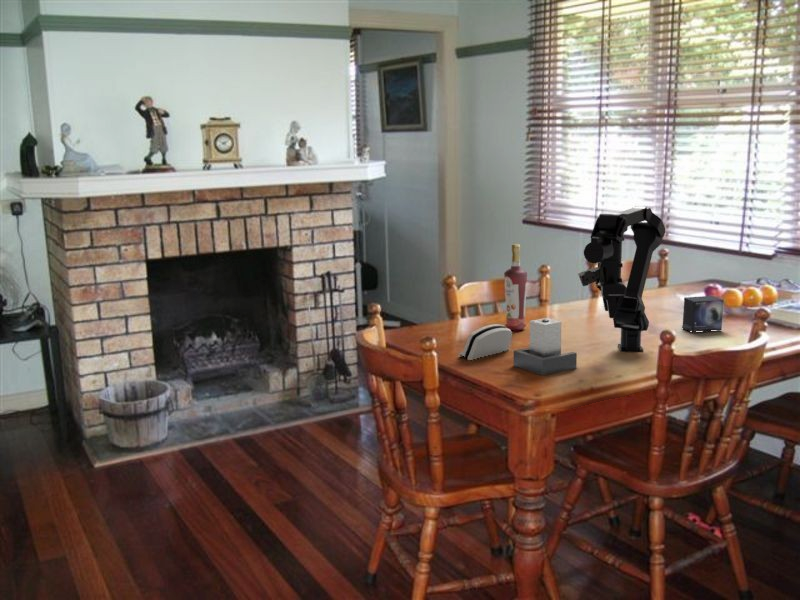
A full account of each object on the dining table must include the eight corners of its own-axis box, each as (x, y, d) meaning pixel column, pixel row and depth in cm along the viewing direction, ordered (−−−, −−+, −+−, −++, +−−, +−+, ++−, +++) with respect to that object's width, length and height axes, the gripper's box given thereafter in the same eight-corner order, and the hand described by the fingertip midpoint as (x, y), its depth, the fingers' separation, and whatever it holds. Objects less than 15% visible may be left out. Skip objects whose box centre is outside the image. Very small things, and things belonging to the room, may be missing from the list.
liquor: (531, 329, 263) (532, 244, 258) (513, 333, 259) (514, 246, 254) (516, 325, 269) (517, 242, 264) (499, 328, 266) (499, 244, 260)
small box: (692, 333, 253) (694, 301, 251) (681, 329, 259) (682, 297, 257) (722, 331, 255) (724, 298, 253) (711, 326, 261) (712, 295, 259)
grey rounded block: (497, 346, 243) (505, 318, 239) (508, 354, 240) (516, 325, 236) (457, 357, 232) (465, 327, 228) (468, 365, 229) (477, 335, 225)
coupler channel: (546, 358, 229) (546, 344, 228) (576, 368, 219) (576, 352, 218) (513, 365, 223) (513, 350, 222) (542, 375, 213) (542, 360, 212)
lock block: (546, 359, 225) (546, 316, 222) (560, 364, 220) (561, 320, 217) (529, 363, 222) (529, 319, 219) (543, 368, 217) (544, 323, 214)
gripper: (577, 254, 231) (576, 307, 234) (584, 264, 213) (583, 321, 216) (617, 253, 229) (615, 307, 232) (627, 263, 211) (625, 321, 214)
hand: (609, 314), depth 224 cm, fingers open, 9 cm apart
